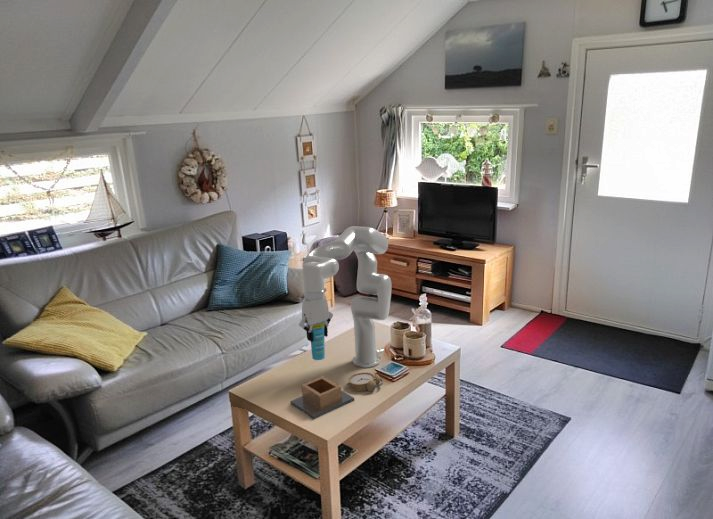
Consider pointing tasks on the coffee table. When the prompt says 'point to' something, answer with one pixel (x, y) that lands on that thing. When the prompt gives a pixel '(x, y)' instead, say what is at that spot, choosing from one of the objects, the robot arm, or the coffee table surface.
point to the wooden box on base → (321, 397)
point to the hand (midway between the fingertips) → (317, 337)
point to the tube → (318, 341)
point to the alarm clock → (364, 381)
